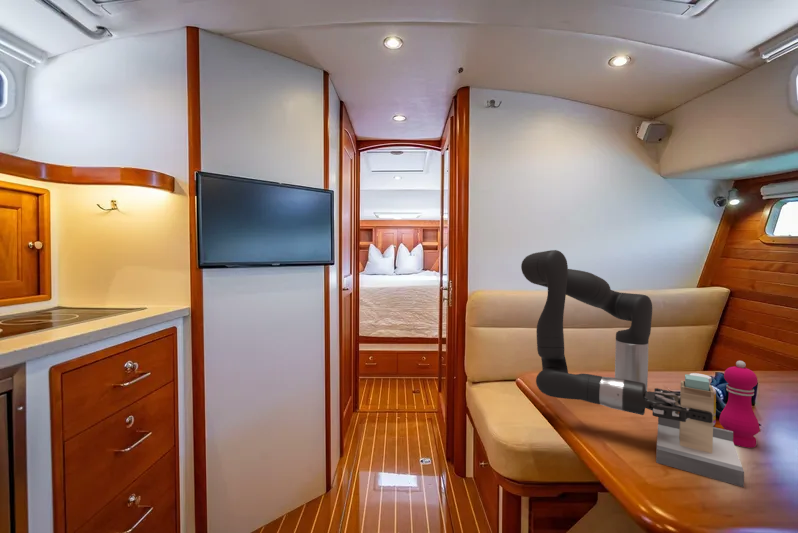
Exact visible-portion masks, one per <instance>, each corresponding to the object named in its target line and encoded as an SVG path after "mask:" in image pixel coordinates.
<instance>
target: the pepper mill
mask: <svg viewBox="0 0 798 533" xmlns="http://www.w3.org/2000/svg"><path fill="white" fill-rule="evenodd" d="M746 364H747V363H746V362H744V361H743V360H737V361H736V362H735V365H736V366H730V367H727V368H726V369H725V370H724V372H723V378H724V380H725V381H726V383H727V384H726V391H727V392H728V398H727V402H726V404H725V406H724V408H723V410H722V411H721V412H720V414H719V419H718V420H719V424H720V425H721V427H722V429H725V430H729V431H733V443H734V445H735V446H738V447H742V448H750V449H753V448H756V446H757V438H756V437H755V436H756V435H757V434H758V433H760V430H761V429H760V423H759V420H758V418H757V416H756V414H755V412H754V409H753V404H752V397H753V396H754V395H755V389H754V387H756V386H757V384H758V381H759V380H758V377H757V374H756V373H755V372H754V371H753V370H751V369H750V368H747V367H746Z"/></svg>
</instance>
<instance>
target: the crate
mask: <svg viewBox="0 0 798 533" xmlns="http://www.w3.org/2000/svg"><path fill="white" fill-rule="evenodd" d="M712 387H713V385H711V384H710V385H709V391H706V390H700V389H694V388H688V387H685V380H680V392H679V393H680V405H682V406H685V407H688V408H694V409H698V410H703V411H708V412H711V413H712V415H713V413H714V391H713V388H712ZM713 427H714V426H713V417H712V423H707V422H703V421H698V420H693V419H690V418H689V420H686V422H682V421H680V427H679V439H680V445H681V446H685V447H689V448H693V449H697V450H701V451H705V452H709V453H712V447H713Z"/></svg>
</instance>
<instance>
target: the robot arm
mask: <svg viewBox="0 0 798 533" xmlns="http://www.w3.org/2000/svg"><path fill="white" fill-rule="evenodd" d="M520 267H521V269H520V270H521V272H522V274H523V276H524V278H525V279H526V280H527V281H528V282H530V283H532V284H533V285H537V286H541V287H545V288H547V294H546V295H547V297H546V300H545V304H544V307H543V309H542V312H541V314H540V316H539V317H538V318H539V319H538V320H537V325H536V350H537V354H538V356H539V357H541V370H540V371H539V373H538V374H537V375H536V377H535V384H536V386H537V388H538V390H539V392H541V393H542V394H544V395H546V396H549V397H552V398H558V399H565V400H578V401H579V400H580V401H583V402H587V403H591V404H596V405H601V406H604V407H606V408H609V409H614V410H617V411H622V412H627V413H631V414H636V415H641V416H643V415H645V412H646V409H647V410H650V411H652V412H651V413H652V414H651V415H652V416H654V417H655V418H658V417H661V418H666V419H671V420H677V421H682V422H686V420H689V418H690V419H693V420H698V421H703V422H707V423H712V417H713V415H712V413H711V412H708V411H703V410H698V409H694V408H688V407H685V406H682V405H680V392H676V391H671V390H666V389H662V388H658V387H656V388H654V391H649V390H648V380H649V379H648V377H649V371H648V370H649V338H650V336H651V331H652V318H653V303H652V300H651V298H650V297H649V296H648V295H646V294H640V293H630V292H620V291H615V290H612V289H611V285H610V284H609V283H608V282H607V280H605V279H604V278H602V277H600V276H598V275H597V274H593V273H591V272H589V271H585V270H580V269H579V270H578V269H572V268H569V266H568V261H567V258H566V256H565V254H564V253H562V251H559V250H557V249H550V250H544V251H539V252H535V253H531V254H529V255H527V256H525V257H524V258H523V259H522V262H521V265H520ZM566 296H568V297H570V298H572V299H575V300H577V301H579V302H581V303H583V304H586V305H588V306H591V307H595V308H597V309H601V310H603V311H605V312H606V313H608V314H609V315H611V316H612V317H614V318H616V319H618V320H622V321H627V322H631V323H630V326H629V328H627V329H622V330H618V331H616V333H615V352H614V353H615V357H614V358H615V359H614V367H615V368H614V377H611V376H601V375H595V374H589V373H578V374H574V373H569V370H568V365H567V359H566V356H565V339H564V338H565V337H564V335H565V334H564V314H565V313H564V312H565V304H566V298H567V297H566Z"/></svg>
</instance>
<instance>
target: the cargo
mask: <svg viewBox="0 0 798 533" xmlns="http://www.w3.org/2000/svg"><path fill="white" fill-rule="evenodd" d="M684 381H685V387H688V388H694V389H700V390H706V391H709V380H708V378H706V377H700V376H693V375H689V374H688V373H687V374H684Z"/></svg>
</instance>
